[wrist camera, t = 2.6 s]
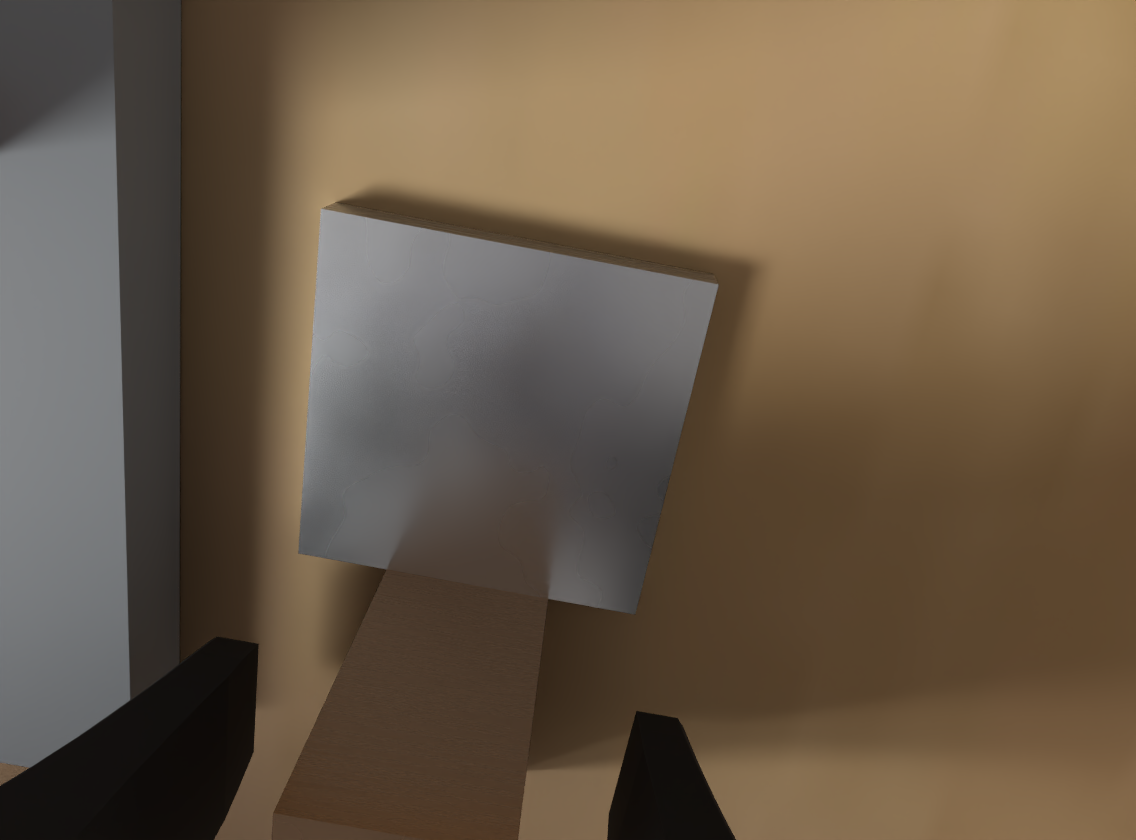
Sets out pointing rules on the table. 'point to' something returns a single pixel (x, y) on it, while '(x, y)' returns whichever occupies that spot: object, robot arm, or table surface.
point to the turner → (473, 498)
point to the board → (87, 362)
